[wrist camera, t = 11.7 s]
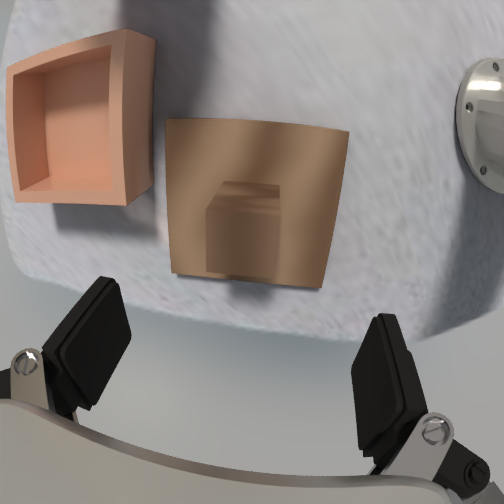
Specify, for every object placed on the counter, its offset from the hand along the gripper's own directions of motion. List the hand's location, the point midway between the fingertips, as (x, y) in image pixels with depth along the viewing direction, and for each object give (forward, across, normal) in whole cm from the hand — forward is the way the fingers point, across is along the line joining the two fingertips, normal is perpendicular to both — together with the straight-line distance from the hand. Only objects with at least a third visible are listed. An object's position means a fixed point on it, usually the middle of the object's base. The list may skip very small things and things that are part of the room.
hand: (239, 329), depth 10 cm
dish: (+14, +15, -6) cm, 22 cm away
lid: (+14, +1, +1) cm, 14 cm away
